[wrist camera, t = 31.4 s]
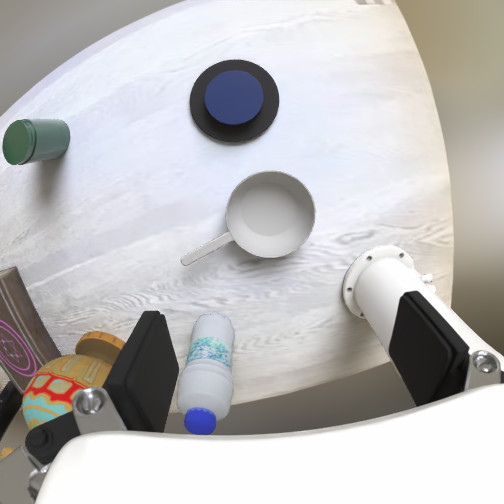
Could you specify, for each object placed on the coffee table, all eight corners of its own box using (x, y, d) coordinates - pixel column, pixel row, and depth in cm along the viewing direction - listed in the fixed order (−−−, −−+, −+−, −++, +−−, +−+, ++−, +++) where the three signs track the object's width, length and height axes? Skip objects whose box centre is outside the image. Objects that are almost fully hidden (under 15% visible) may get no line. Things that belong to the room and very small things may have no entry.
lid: (208, 128, 33) (206, 127, 31) (204, 76, 30) (202, 73, 29) (265, 123, 33) (265, 122, 31) (260, 71, 30) (261, 68, 28)
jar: (68, 114, 31) (28, 112, 22) (71, 153, 33) (32, 160, 25) (40, 125, 31) (0, 127, 23) (43, 162, 33) (3, 171, 25)
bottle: (193, 339, 45) (171, 442, 26) (193, 304, 42) (164, 409, 24) (234, 343, 45) (230, 448, 26) (238, 309, 43) (233, 418, 24)
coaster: (275, 58, 30) (275, 56, 29) (281, 138, 34) (282, 138, 33) (188, 66, 30) (187, 65, 29) (194, 146, 34) (193, 146, 33)
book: (-29, 281, 41) (-41, 290, 36) (17, 265, 40) (1, 276, 35) (29, 382, 52) (21, 394, 47) (84, 387, 51) (76, 402, 46)
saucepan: (322, 225, 38) (329, 234, 35) (207, 283, 41) (203, 296, 37) (287, 153, 35) (291, 155, 31) (166, 219, 37) (158, 227, 34)
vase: (50, 327, 45) (-28, 436, 17) (121, 305, 42) (33, 461, 14) (103, 396, 51) (60, 505, 24) (176, 387, 49) (147, 529, 21)
